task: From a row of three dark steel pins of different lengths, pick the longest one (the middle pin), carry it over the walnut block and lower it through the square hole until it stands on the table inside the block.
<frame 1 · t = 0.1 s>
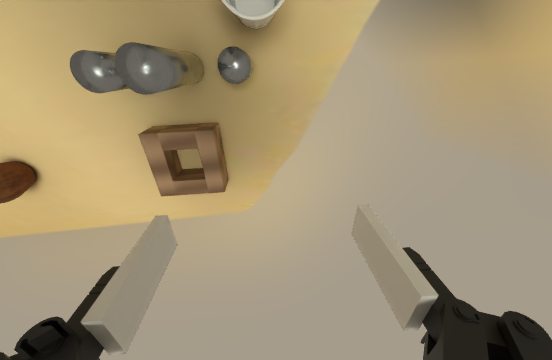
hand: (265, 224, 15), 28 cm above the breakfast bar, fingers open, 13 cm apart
short pin: (239, 66, 34), on the breakfast bar
wooden figurine: (25, 172, 41), on the breakfast bar
long pin: (190, 68, 34), on the breakfast bar
medium pin: (140, 70, 34), on the breakfast bar
cup: (255, 2, 31), on the breakfast bar
hole block: (193, 155, 41), on the breakfast bar
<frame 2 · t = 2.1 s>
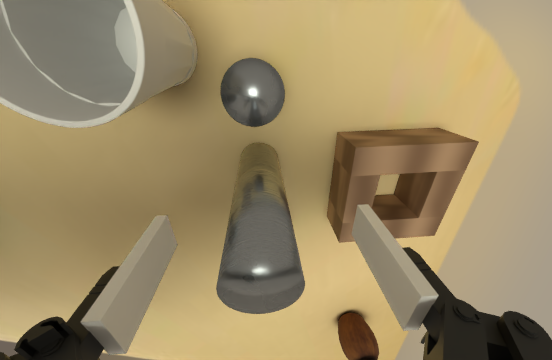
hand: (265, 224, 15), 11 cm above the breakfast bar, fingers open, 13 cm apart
short pin: (254, 86, 20), on the breakfast bar
wooden figurine: (348, 316, 43), on the breakfast bar
long pin: (259, 160, 24), on the breakfast bar
cup: (161, 47, 19), on the breakfast bar
hole block: (377, 176, 27), on the breakfast bar
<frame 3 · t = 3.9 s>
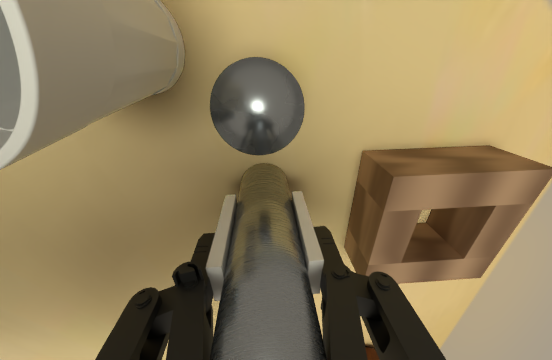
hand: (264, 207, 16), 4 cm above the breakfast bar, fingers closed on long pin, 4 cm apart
short pin: (259, 94, 16), on the breakfast bar
wooden figurine: (363, 349, 38), on the breakfast bar
long pin: (264, 184, 20), on the breakfast bar, touching gripper
cup: (137, 44, 14), on the breakfast bar
hole block: (408, 202, 22), on the breakfast bar
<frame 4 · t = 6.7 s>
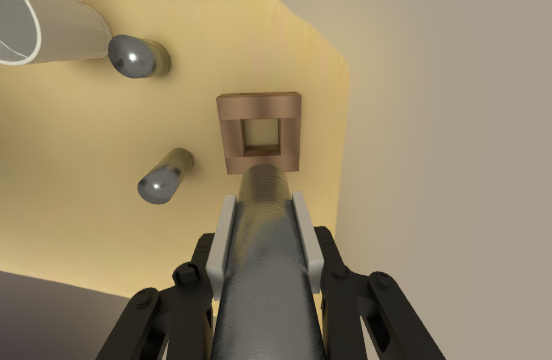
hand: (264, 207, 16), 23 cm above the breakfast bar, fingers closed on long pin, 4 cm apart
short pin: (155, 59, 30), on the breakfast bar
long pin: (264, 184, 20), point 19 cm above the breakfast bar, touching gripper
medium pin: (181, 159, 38), on the breakfast bar
cup: (88, 32, 29), on the breakfast bar
hole block: (261, 129, 36), on the breakfast bar
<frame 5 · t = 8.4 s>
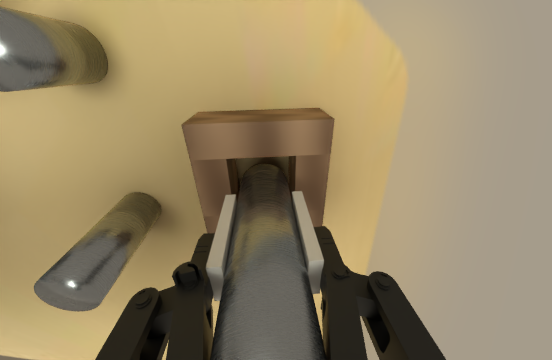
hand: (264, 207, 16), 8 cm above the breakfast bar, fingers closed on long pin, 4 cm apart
short pin: (78, 54, 18), on the breakfast bar
long pin: (264, 184, 20), point 4 cm above the breakfast bar, touching gripper
medium pin: (141, 207, 25), on the breakfast bar
hole block: (262, 164, 24), on the breakfast bar
when the fingers open (6 cm above the breakfast bar, at t = 9.6 s): long pin drops 3 cm, resting in hole block.
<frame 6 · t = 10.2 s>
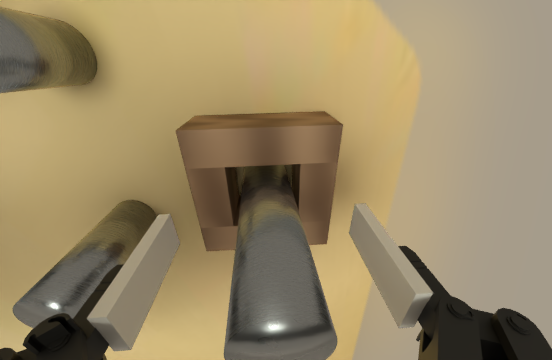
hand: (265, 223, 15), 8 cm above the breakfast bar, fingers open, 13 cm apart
short pin: (65, 54, 16), on the breakfast bar
long pin: (264, 171, 22), resting in hole block
medium pin: (136, 216, 24), on the breakfast bar
hole block: (264, 171, 22), on the breakfast bar
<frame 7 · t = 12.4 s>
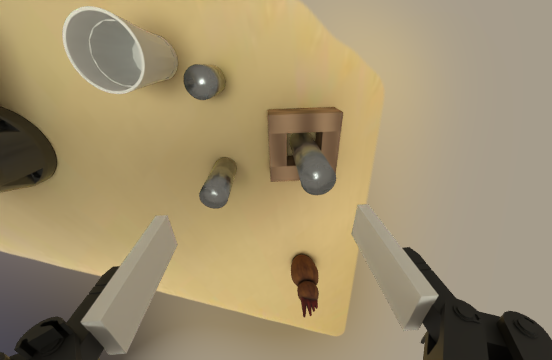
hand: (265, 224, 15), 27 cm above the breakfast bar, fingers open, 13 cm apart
short pin: (212, 80, 34), on the breakfast bar
wooden figurine: (301, 258, 56), on the breakfast bar
long pin: (300, 140, 40), resting in hole block
medium pin: (225, 167, 42), on the breakfast bar
cup: (157, 58, 33), on the breakfast bar
hole block: (300, 140, 40), on the breakfast bar
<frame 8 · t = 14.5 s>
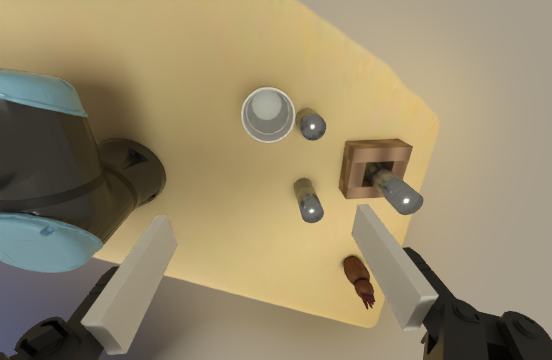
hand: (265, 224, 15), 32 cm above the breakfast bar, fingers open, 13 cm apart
short pin: (306, 119, 43), on the breakfast bar
wooden figurine: (350, 260, 65), on the breakfast bar
long pin: (367, 164, 49), resting in hole block
medium pin: (303, 186, 51), on the breakfast bar
cup: (266, 103, 41), on the breakfast bar
hole block: (367, 164, 49), on the breakfast bar
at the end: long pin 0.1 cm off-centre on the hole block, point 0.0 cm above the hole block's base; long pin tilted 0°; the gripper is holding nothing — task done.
